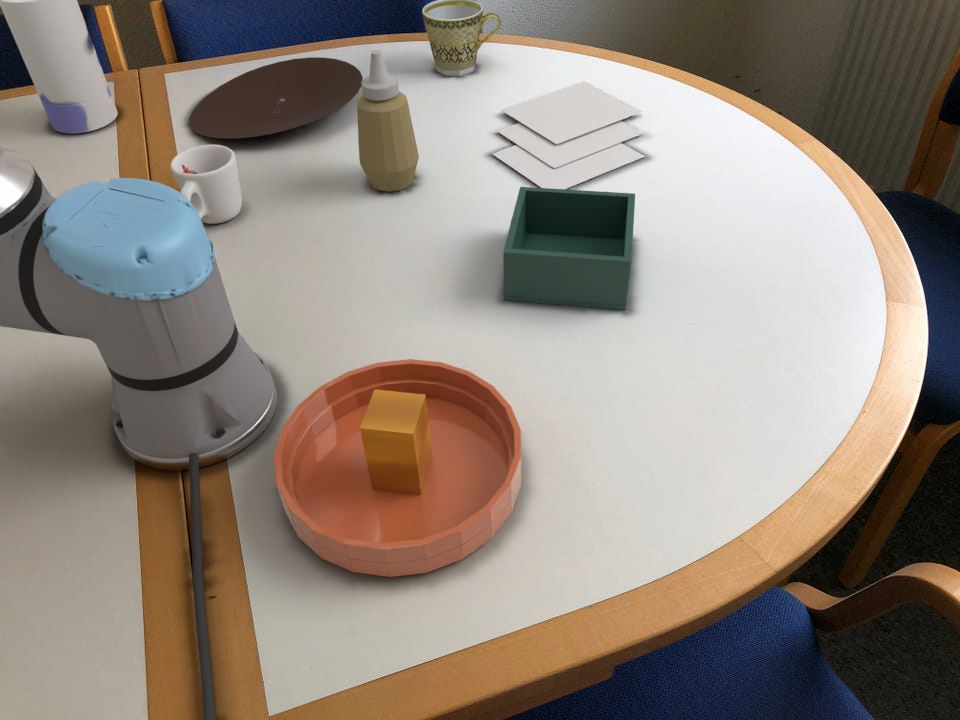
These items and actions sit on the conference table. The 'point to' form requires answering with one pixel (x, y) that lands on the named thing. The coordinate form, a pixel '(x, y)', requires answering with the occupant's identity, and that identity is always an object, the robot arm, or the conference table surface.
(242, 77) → the plate
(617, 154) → the paper stack
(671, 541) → the conference table surface
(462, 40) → the ceramic cup
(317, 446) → the bowl
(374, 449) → the block
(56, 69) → the container
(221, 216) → the cup
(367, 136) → the squeeze bottle
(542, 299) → the bin
